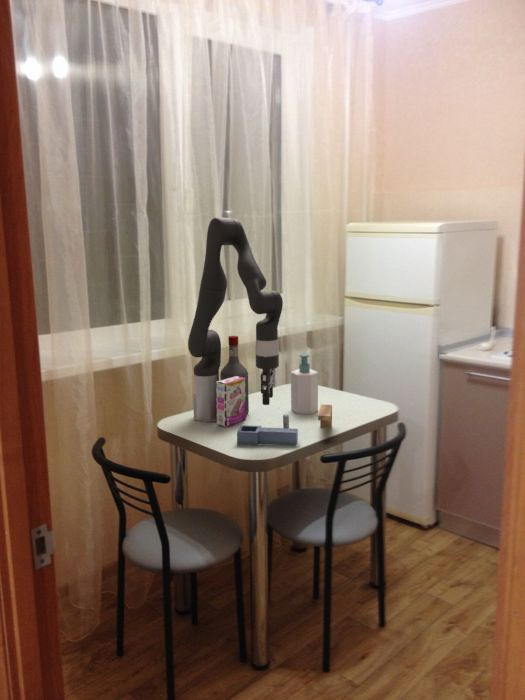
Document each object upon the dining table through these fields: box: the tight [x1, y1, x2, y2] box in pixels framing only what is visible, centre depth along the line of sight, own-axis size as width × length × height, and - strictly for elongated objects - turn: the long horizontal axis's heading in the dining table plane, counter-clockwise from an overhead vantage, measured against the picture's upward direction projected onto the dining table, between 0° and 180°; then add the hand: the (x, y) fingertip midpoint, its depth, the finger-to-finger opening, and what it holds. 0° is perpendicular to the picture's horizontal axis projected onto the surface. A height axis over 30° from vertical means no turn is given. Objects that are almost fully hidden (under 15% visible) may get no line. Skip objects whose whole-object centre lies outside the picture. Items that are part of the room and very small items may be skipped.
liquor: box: [219, 335, 250, 415], centre depth 242 cm, size 9×9×30 cm
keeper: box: [317, 404, 333, 429], centre depth 222 cm, size 4×13×8 cm, turn 171°
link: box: [236, 424, 299, 447], centre depth 213 cm, size 20×7×4 cm, turn 81°
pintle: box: [282, 414, 290, 428], centre depth 223 cm, size 2×2×6 cm
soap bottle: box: [290, 353, 319, 415], centre depth 246 cm, size 10×9×22 cm
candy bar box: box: [216, 376, 247, 428], centre depth 233 cm, size 11×5×16 cm, turn 141°
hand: (267, 400), depth 211 cm, fingers open, 8 cm apart
